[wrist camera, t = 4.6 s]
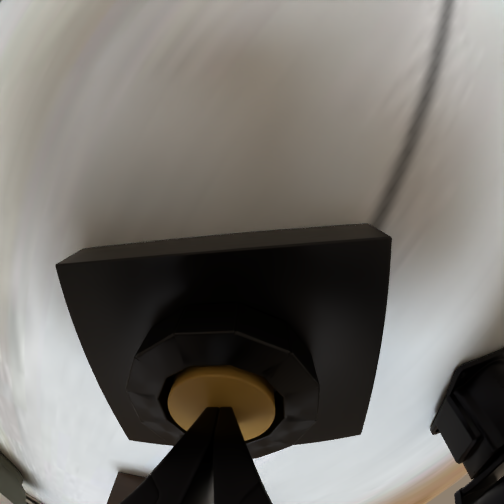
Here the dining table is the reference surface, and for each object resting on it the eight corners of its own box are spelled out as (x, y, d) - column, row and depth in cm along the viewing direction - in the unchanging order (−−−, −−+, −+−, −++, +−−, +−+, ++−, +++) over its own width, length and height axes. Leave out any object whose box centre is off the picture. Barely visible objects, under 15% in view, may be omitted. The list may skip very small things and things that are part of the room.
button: (270, 339, 10) (272, 372, 8) (275, 409, 11) (277, 441, 9) (168, 343, 10) (154, 374, 8) (188, 410, 11) (181, 441, 9)
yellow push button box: (368, 223, 11) (419, 252, 7) (351, 405, 14) (370, 461, 10) (82, 248, 11) (26, 282, 7) (139, 413, 14) (119, 464, 10)
